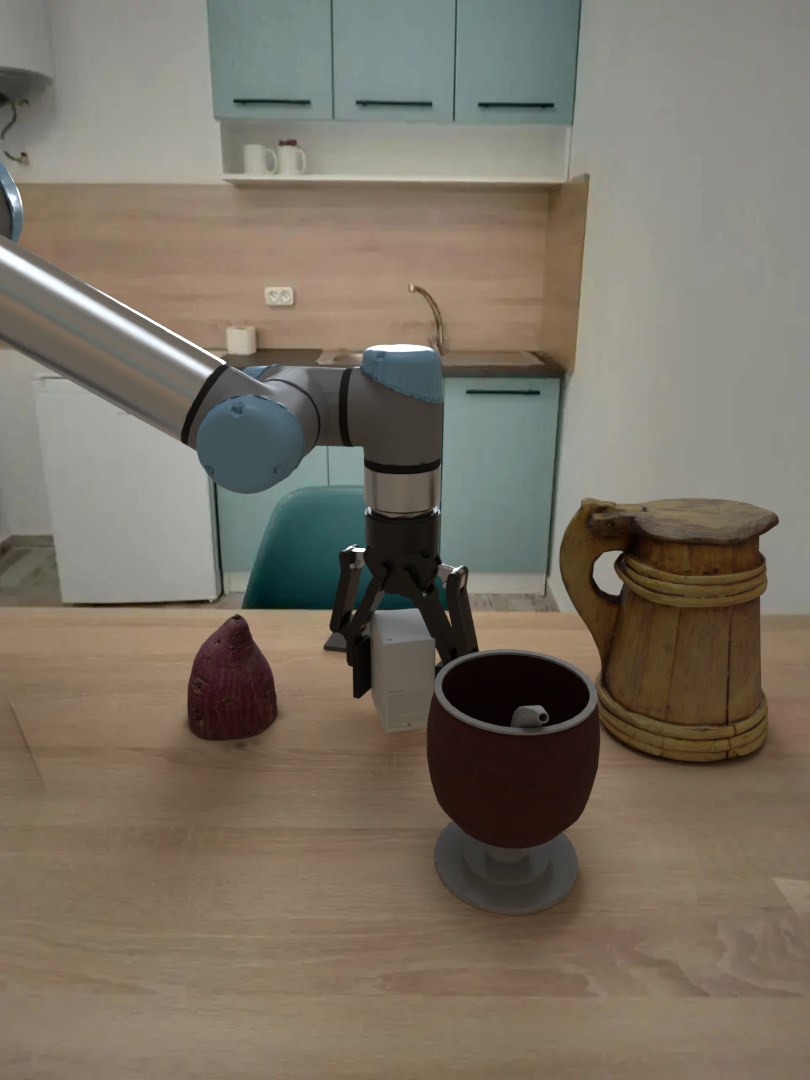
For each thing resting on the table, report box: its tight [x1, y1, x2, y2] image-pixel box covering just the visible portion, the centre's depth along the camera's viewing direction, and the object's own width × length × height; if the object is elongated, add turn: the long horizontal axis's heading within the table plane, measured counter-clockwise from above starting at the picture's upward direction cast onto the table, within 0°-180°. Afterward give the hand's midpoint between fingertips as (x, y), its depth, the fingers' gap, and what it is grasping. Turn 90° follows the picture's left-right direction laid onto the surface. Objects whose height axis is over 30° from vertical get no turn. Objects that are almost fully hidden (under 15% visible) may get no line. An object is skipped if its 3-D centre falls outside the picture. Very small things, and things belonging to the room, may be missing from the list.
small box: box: [370, 608, 437, 734], centre depth 88 cm, size 8×6×10 cm
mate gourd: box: [426, 648, 601, 916], centre depth 67 cm, size 16×14×20 cm
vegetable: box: [186, 613, 278, 741], centre depth 90 cm, size 10×10×15 cm
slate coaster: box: [323, 613, 370, 653], centre depth 111 cm, size 10×10×1 cm
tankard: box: [558, 497, 780, 763], centre depth 89 cm, size 18×24×25 cm
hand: (401, 703), depth 90 cm, fingers closed on small box, 9 cm apart
